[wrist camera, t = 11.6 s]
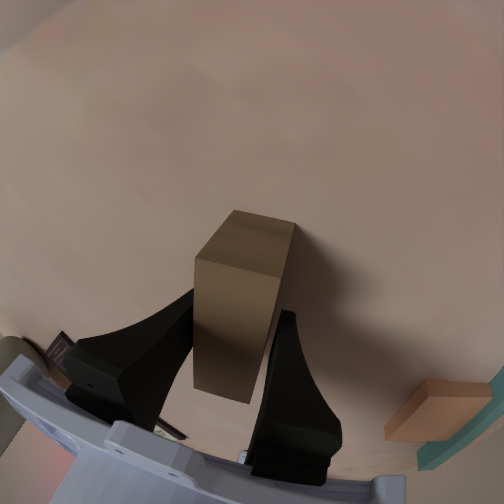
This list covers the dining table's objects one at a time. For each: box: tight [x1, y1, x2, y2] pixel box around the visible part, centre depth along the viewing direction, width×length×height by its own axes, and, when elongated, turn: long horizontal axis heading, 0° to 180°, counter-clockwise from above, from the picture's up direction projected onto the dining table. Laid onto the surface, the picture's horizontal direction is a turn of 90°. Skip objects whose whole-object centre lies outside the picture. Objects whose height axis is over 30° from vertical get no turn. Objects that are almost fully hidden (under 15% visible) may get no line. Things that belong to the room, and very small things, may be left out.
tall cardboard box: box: [193, 210, 295, 404], centre depth 14 cm, size 8×3×5 cm, turn 172°
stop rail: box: [417, 367, 504, 471], centre depth 16 cm, size 20×2×2 cm, turn 172°
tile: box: [385, 379, 493, 442], centre depth 18 cm, size 7×7×2 cm
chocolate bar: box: [44, 331, 186, 441], centre depth 28 cm, size 9×1×18 cm
